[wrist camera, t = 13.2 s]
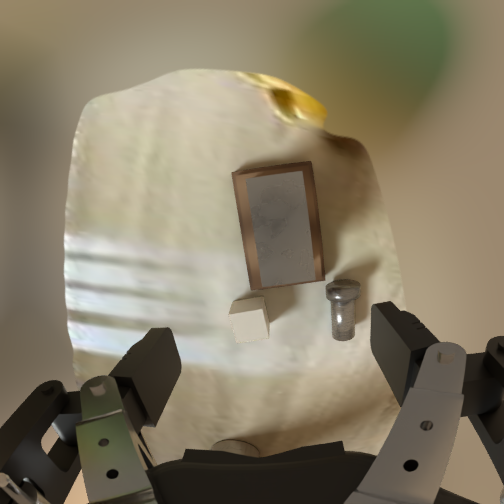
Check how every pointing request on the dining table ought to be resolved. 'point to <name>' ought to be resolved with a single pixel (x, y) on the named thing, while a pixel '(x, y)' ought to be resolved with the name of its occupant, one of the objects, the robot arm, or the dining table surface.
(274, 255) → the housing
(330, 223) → the dining table surface
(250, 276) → the stand
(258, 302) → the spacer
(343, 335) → the bolt
